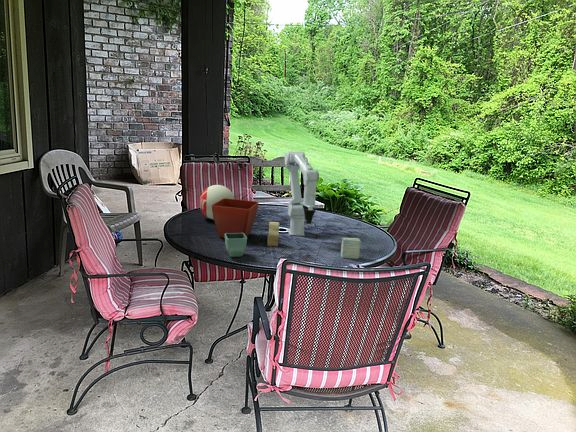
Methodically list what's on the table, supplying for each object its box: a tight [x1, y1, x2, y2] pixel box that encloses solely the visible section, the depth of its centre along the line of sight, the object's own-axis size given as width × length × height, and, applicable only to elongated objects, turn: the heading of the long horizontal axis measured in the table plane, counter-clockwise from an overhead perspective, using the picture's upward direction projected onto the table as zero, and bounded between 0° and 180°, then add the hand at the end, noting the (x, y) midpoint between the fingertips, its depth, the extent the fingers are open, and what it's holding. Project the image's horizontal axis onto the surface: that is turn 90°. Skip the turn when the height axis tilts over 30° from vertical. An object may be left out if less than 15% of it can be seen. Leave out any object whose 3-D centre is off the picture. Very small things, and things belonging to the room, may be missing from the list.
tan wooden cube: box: [267, 232, 279, 247], centre depth 226 cm, size 5×5×5 cm
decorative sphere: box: [198, 184, 235, 221], centre depth 264 cm, size 20×20×20 cm
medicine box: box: [340, 237, 362, 260], centre depth 214 cm, size 8×4×9 cm, turn 92°
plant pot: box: [212, 198, 259, 239], centre depth 235 cm, size 19×19×17 cm
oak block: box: [268, 221, 280, 237], centre depth 225 cm, size 4×4×6 cm
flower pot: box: [224, 233, 248, 258], centre depth 206 cm, size 9×9×9 cm
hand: (308, 221), depth 232 cm, fingers open, 7 cm apart
